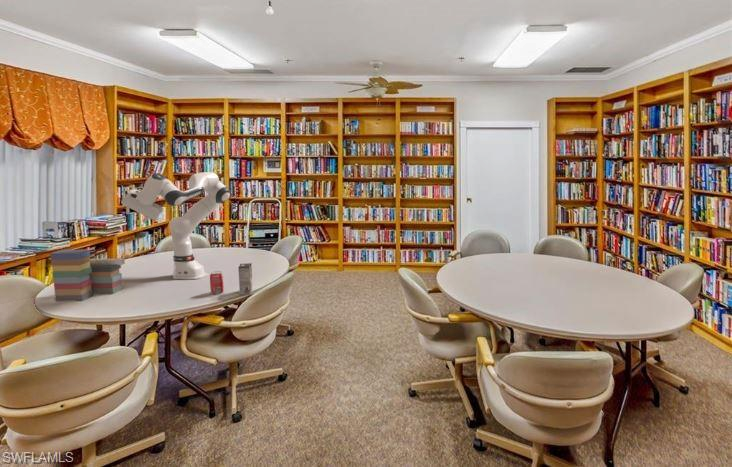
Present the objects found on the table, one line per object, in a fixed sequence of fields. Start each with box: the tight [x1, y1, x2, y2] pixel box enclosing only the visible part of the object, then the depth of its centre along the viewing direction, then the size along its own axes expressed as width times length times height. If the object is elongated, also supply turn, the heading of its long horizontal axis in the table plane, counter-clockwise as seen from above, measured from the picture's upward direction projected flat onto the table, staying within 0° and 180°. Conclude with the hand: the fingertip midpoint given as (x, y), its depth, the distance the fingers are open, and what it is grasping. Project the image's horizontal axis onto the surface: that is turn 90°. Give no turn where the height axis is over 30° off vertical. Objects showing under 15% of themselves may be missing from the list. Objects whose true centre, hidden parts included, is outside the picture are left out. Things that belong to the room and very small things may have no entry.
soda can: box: [209, 270, 225, 295], centre depth 232 cm, size 7×7×12 cm
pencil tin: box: [90, 258, 126, 266], centre depth 231 cm, size 24×4×3 cm, turn 94°
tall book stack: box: [49, 249, 94, 302], centre depth 220 cm, size 14×10×26 cm
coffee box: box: [237, 262, 253, 295], centre depth 233 cm, size 9×6×16 cm
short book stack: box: [89, 265, 123, 295], centre depth 233 cm, size 16×10×16 cm, turn 94°
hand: (135, 217), depth 234 cm, fingers open, 8 cm apart
